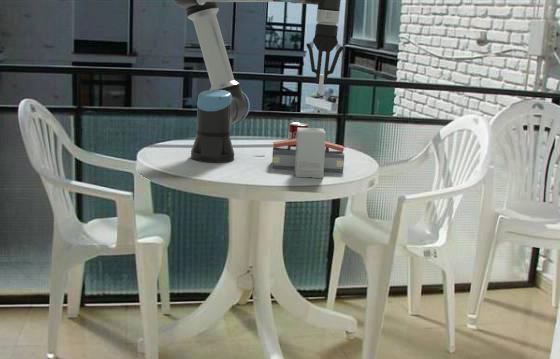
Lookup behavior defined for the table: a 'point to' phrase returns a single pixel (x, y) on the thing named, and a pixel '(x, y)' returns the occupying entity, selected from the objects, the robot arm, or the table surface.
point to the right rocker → (334, 146)
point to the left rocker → (284, 143)
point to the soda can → (295, 130)
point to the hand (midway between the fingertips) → (320, 93)
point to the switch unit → (287, 154)
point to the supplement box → (310, 152)
